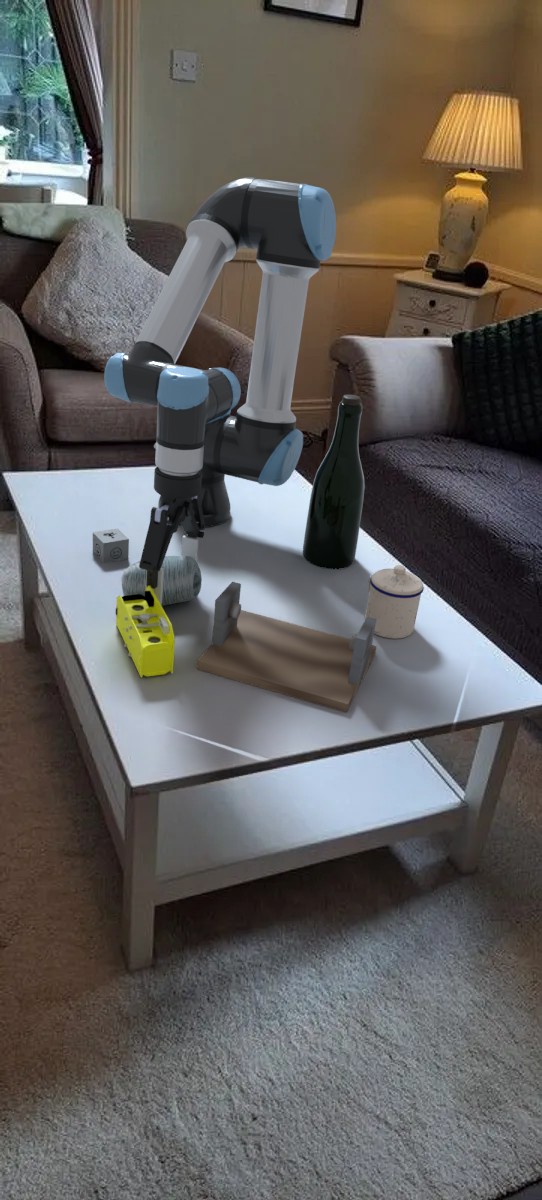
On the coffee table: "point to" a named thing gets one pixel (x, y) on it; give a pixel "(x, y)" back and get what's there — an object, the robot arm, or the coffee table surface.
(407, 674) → the coffee table surface
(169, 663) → the yellow toy chassis
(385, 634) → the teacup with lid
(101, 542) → the dice cube
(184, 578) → the grey egg-shaped piece
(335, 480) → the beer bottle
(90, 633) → the coffee table surface
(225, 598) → the roll holder
